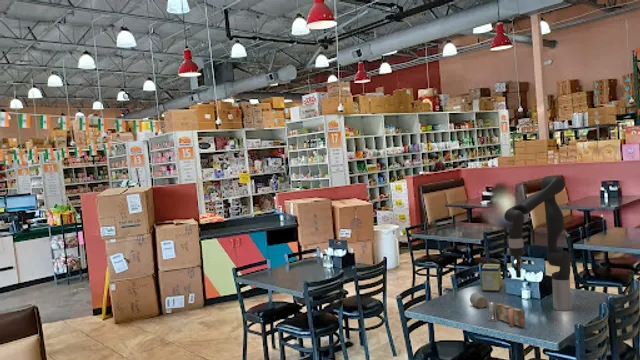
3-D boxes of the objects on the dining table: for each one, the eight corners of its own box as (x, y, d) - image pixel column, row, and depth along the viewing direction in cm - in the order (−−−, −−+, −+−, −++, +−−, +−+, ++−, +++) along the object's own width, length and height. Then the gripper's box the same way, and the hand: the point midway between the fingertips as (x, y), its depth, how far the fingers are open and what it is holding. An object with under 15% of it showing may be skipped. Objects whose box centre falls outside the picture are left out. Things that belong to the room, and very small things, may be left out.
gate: (495, 317, 289) (494, 303, 288) (498, 316, 290) (497, 302, 289) (521, 326, 271) (521, 311, 271) (525, 325, 272) (524, 310, 272)
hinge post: (496, 318, 291) (495, 301, 290) (497, 321, 286) (496, 303, 285) (487, 318, 292) (486, 301, 291) (488, 321, 287) (487, 304, 286)
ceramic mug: (477, 309, 308) (476, 296, 308) (469, 305, 316) (469, 293, 316) (493, 307, 311) (492, 294, 311) (485, 303, 319) (484, 291, 319)
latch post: (513, 325, 277) (512, 308, 277) (514, 327, 275) (513, 310, 274) (508, 325, 278) (507, 308, 277) (509, 327, 275) (508, 310, 275)
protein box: (501, 286, 353) (500, 263, 352) (499, 292, 339) (498, 268, 338) (485, 285, 357) (484, 263, 356) (482, 292, 343) (481, 268, 342)
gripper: (521, 248, 279) (523, 281, 280) (526, 243, 290) (528, 274, 291) (506, 248, 283) (508, 280, 284) (511, 243, 294) (514, 273, 295)
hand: (518, 277), depth 288 cm, fingers closed
